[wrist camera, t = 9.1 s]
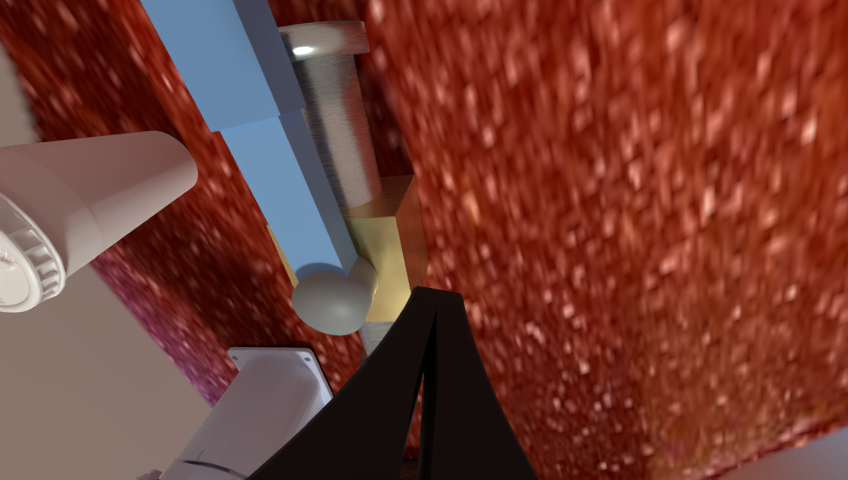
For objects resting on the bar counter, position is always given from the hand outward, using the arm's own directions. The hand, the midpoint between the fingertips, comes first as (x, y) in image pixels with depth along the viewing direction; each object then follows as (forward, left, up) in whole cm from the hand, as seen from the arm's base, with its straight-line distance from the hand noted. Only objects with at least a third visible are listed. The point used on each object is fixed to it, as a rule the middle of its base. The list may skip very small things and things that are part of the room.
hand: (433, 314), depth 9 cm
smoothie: (+3, +17, -10) cm, 20 cm away
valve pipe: (-2, +5, -10) cm, 11 cm away
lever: (+3, +5, -5) cm, 8 cm away
